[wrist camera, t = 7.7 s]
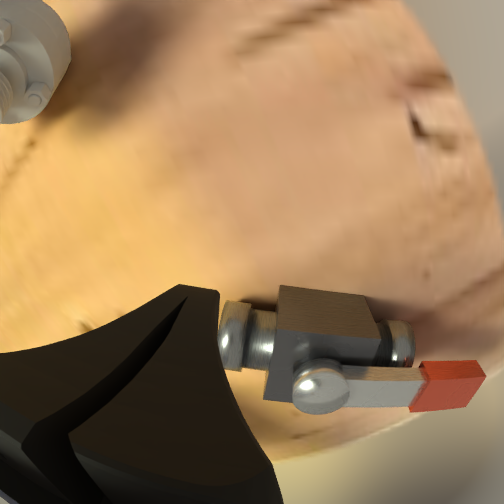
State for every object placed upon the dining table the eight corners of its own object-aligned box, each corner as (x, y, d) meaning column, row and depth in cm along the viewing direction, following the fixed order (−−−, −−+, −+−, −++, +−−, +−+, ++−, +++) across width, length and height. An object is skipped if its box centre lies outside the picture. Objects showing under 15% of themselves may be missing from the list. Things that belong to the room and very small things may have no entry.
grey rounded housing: (140, 3, 21) (110, -105, 7) (62, 137, 15) (-52, -46, 1) (61, 29, 22) (21, -61, 7) (-25, 165, 15) (-124, 55, 1)
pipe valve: (378, 361, 22) (392, 406, 18) (225, 345, 23) (213, 391, 18) (404, 300, 20) (428, 341, 15) (231, 278, 21) (216, 319, 16)
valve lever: (288, 389, 17) (287, 412, 16) (298, 352, 16) (299, 375, 14) (456, 391, 17) (465, 408, 15) (476, 358, 15) (487, 376, 14)
